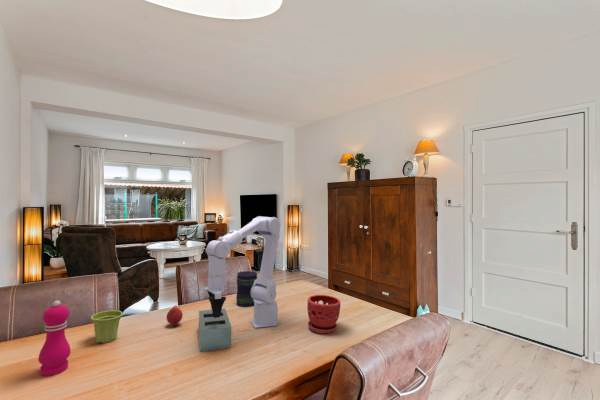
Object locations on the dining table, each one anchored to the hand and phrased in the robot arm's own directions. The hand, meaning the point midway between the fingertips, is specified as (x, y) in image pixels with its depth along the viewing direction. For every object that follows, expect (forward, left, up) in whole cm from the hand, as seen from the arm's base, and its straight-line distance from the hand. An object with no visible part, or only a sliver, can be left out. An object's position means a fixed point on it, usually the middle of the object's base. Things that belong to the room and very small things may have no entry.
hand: (215, 313), depth 107 cm
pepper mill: (+45, +4, -11) cm, 47 cm away
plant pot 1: (+36, -14, -11) cm, 40 cm away
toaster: (0, -4, -10) cm, 11 cm away
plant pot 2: (-42, 0, -11) cm, 43 cm away
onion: (+14, -20, -11) cm, 27 cm away
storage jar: (-18, -38, -11) cm, 43 cm away
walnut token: (0, -8, -10) cm, 13 cm away
